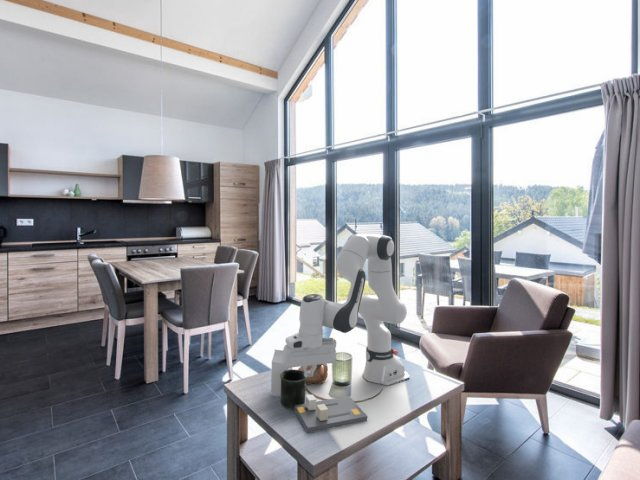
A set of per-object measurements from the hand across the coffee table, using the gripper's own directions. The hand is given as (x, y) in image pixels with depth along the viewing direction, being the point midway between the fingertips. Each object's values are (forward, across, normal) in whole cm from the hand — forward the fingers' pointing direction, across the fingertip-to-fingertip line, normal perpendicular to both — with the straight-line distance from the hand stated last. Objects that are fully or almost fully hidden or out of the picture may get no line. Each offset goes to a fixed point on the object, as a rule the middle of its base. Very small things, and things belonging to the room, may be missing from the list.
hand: (308, 376), depth 138 cm
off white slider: (+16, -4, -7) cm, 18 cm away
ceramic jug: (+18, -15, -33) cm, 41 cm away
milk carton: (+18, +2, -26) cm, 32 cm away
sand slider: (+16, -6, +1) cm, 18 cm away
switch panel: (+18, -11, -3) cm, 22 cm away
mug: (+19, 0, -18) cm, 26 cm away
